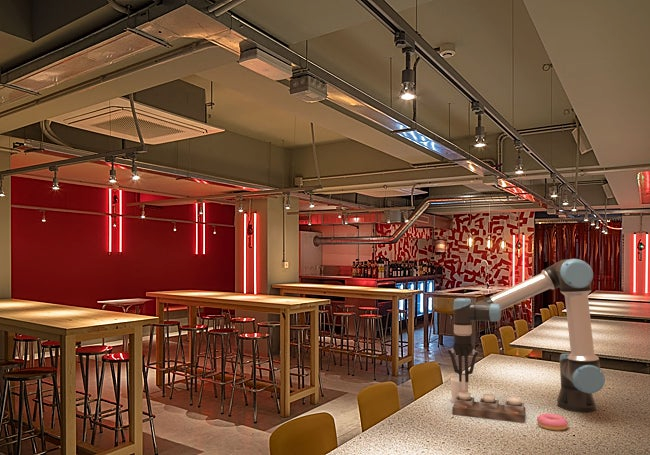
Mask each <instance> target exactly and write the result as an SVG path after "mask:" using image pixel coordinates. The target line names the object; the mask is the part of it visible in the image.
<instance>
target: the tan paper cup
mask: <svg viewBox="0 0 650 455" xmlns="http://www.w3.org/2000/svg"><path fill="white" fill-rule="evenodd" d="M450 391H451V392H450V393H451V400H452V402H453V403H455V399H456V397H457V396H458V393H459V392H469V381H468V382H466V390H465V391H464V390H462V382H459V376H458V377H457V376H456V377H451V378H450Z"/></svg>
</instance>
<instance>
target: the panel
mask: <svg viewBox="0 0 650 455" xmlns="http://www.w3.org/2000/svg"><path fill="white" fill-rule="evenodd" d="M453 403H454V402H453ZM451 409H452V412H451V414H452V415H453V416H454V415H456V416H462V417H469V418H470V417H471V418H479V419H487V420H495V421H504V422H511V423H520V424H525V423H526V412H527V411H526V406H525V402H524V401H523V402H521V404H520V405H512V404H509V403H508V400H505V402H504V404H500V401H499V399H495V402H485V401H483V397H482V398H481V397H480V400H479V401H475V397H474V396H473V397H472V396H471V399H468V400H464V399H460V398H459V396H457V397H456V399H455V403H454V404H453V406H452V408H451Z"/></svg>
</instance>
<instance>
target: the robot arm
mask: <svg viewBox="0 0 650 455" xmlns="http://www.w3.org/2000/svg"><path fill="white" fill-rule="evenodd" d="M593 279H594V272H593V269H592V266H590V264H589V263H587V262H586V261H584V260H582V259H578V258H569V259H568V258H565V259H561V260H560V261H557V262H556V263H554V264H551V265H550V266H548V267H546V268H545V269H542V270H541V273H539V274H536V275H535V276H532V277H530V278H528V279H526V280H524V281H521V282H518V284H517V283H516V284H515V285H513V286H511V287H508V288H506V289H504V290H501V291H499V292H498V293H495V294H493V295H491V296H489V297H486V298H485V299H481V300H478V301H476V302H475V303H474V302H473V301H472V300H471V298H467V297H466V298H464V297H462V298H461V297H458V298H455V299H454V300H453V307H452V309H453V310H452V311H453V334H454V335H453V346H452V348H449V349H448V350H447V352H448V355H450V360H451V363H452V367H453V371H454V373H456V374H458V377H459V382H462V390H464V391H465V390H466V382H468V383H469V380H470V379H469V375H472V374H473V372H474V368H475V365H476V361H477V356H478V354H479V353H480V352H479V351H478V350H476V349H475V348H474V346H473V335H472V334H473V332H472V331H473V330H472V329H473V327H472V322H476V321H477V322H480V321H481V322H491V323H492V322H499V321H501V317H502V312H501V311H503V310H505V309H507V308H509V307H512V306H514V305H516V304H518V303H521V302H523V301H526V300H528V299H530V298H532V297H534V296H536V295H538V294H541V293H543V292H546V291H548V290H556V289H558V288H559V291H560V293H561V294H562V295H563V296H564V300H565V310H566V319H567V320H566V321H567V328H568V338H569V345H570V346H569V347H570V349H569V350H570V353H567V352H566V353H561V354H560V356H559V360H558V361H559V371H560V373H559V374H560V389H559V393H558V396H557V399H556V405H557V407H558V408H560V409H563V410H565V411H569V412H574V413H575V412H578V413H593V412H595V411H596V410H597V403H596V401H595V398H594V395H593V394H596V393H598V392H599V391H601V390H602V389H603V387H604V386H605V383H606V377H605V376H606V375H605V374H604V371H603V370H602V369H601V364H600V358H599V356H598V355H596V354H595V349H594V340H593V332H592V330H593V329H592V321H591V320H592V319H591V313H590V312H591V311H590V304H589V302H590V301H589V294H590V293H591V292H592V284H591V283H592V282H593ZM471 353H472V355H473V356H472V358H471V361H470V362H471V364H470V367H469V356H470V355H471ZM455 354H457V356H458V357H457V359H458V364H457V359H456V356H455ZM463 359H464V373H463Z"/></svg>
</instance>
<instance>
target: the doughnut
mask: <svg viewBox="0 0 650 455" xmlns="http://www.w3.org/2000/svg"><path fill="white" fill-rule="evenodd" d="M536 421H537V424H538V426H539V427H541V428H543V429H545V430H549V431H564V430H567V428H568V426H569V422H568V420H567V419H566V418H565V417H564V416H562V415H559V414H556V413H542V414H541V413H540V414H538V416H537V417H536Z"/></svg>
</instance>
